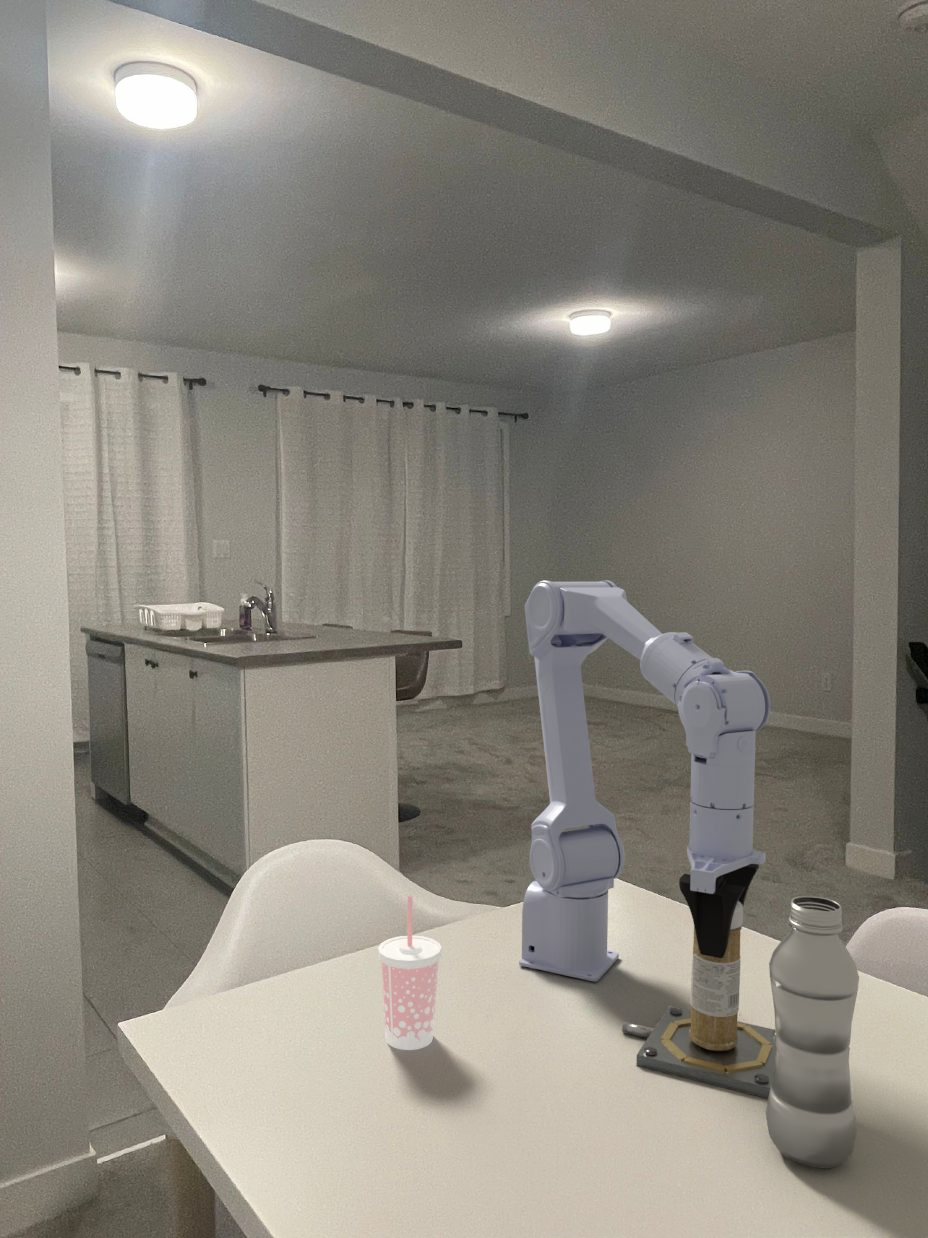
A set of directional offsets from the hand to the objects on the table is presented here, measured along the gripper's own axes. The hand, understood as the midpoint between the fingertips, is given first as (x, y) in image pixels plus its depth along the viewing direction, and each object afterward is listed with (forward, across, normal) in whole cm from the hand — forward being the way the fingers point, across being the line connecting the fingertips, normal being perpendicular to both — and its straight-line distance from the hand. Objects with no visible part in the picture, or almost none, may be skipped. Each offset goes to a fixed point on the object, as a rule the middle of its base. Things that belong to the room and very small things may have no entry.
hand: (718, 945), depth 90 cm
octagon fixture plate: (+10, 0, +2) cm, 11 cm away
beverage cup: (+11, -11, +27) cm, 31 cm away
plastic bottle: (+11, -12, -10) cm, 19 cm away
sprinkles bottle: (+9, 0, 0) cm, 9 cm away
